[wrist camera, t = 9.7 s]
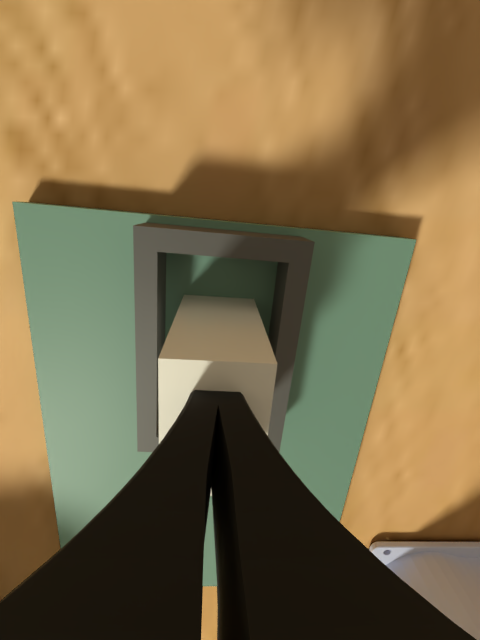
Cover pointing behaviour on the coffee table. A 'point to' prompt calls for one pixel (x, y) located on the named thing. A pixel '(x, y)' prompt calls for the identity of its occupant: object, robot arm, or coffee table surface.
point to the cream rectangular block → (216, 357)
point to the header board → (156, 320)
